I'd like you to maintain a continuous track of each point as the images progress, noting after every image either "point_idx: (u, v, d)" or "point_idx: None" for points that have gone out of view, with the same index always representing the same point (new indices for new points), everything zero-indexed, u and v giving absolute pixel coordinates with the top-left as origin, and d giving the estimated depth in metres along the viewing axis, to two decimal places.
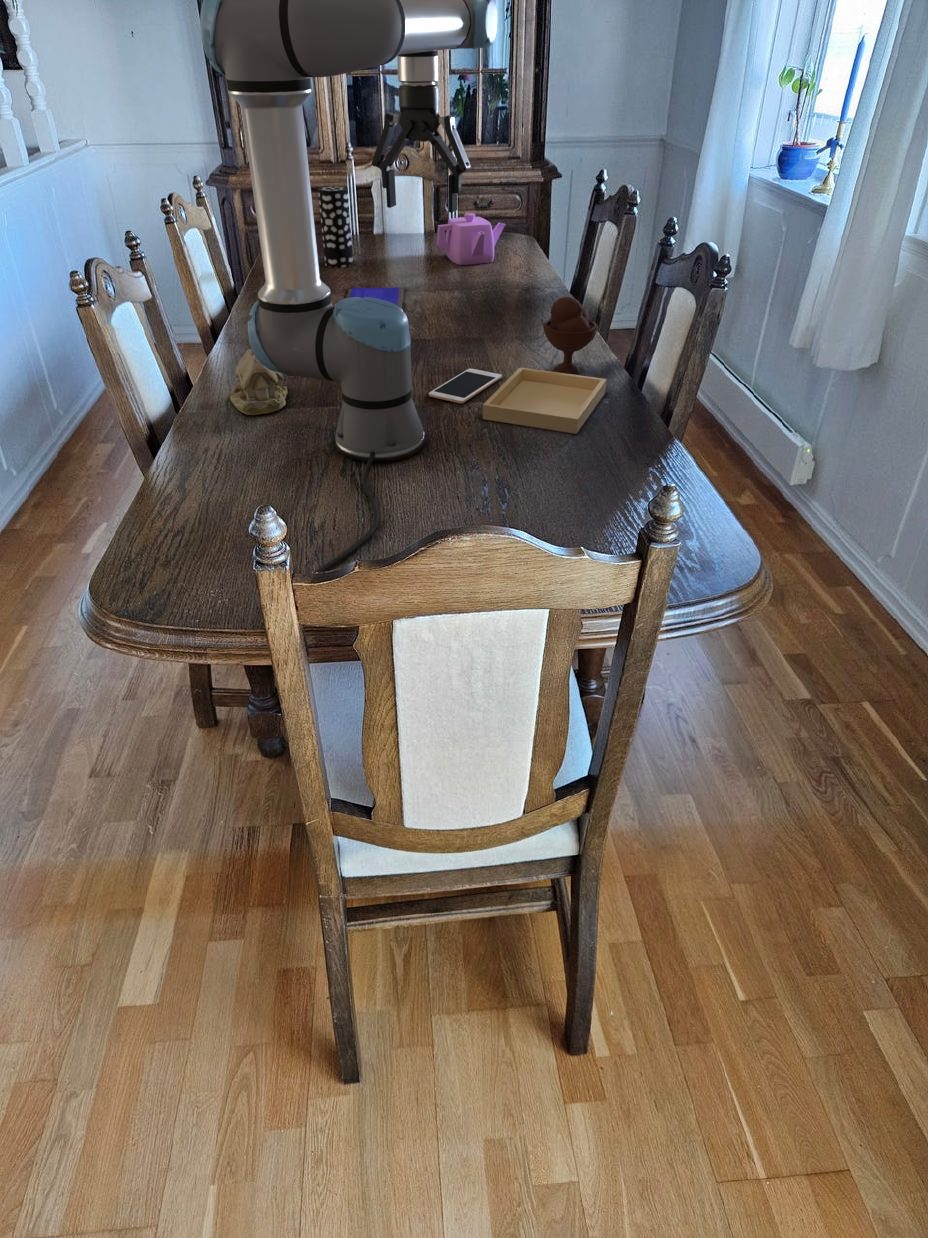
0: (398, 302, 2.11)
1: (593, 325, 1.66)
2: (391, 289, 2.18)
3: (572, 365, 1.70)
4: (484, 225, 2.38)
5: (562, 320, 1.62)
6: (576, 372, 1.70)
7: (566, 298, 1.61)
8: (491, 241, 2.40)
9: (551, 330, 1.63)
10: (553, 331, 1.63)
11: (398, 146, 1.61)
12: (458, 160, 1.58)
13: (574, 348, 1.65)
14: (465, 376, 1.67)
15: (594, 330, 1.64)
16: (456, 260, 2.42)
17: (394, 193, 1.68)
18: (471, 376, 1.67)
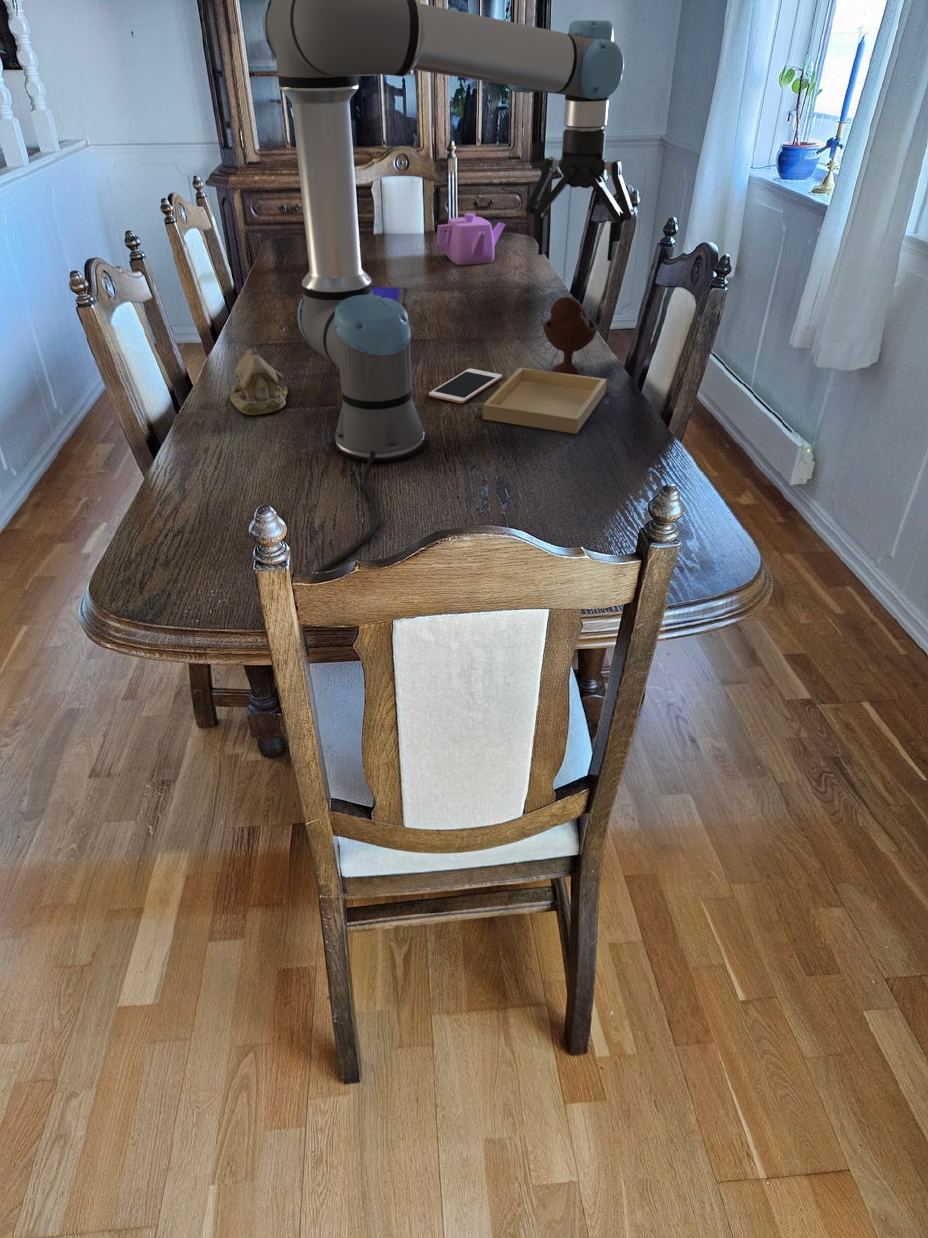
0: (398, 302, 2.11)
1: (593, 325, 1.66)
2: (391, 289, 2.18)
3: (572, 365, 1.70)
4: (484, 225, 2.38)
5: (562, 320, 1.62)
6: (576, 372, 1.70)
7: (566, 298, 1.61)
8: (491, 241, 2.40)
9: (551, 330, 1.63)
10: (553, 331, 1.63)
11: (557, 192, 1.52)
12: (623, 207, 1.49)
13: (574, 348, 1.65)
14: (465, 376, 1.67)
15: (594, 330, 1.64)
16: (456, 260, 2.42)
17: (545, 239, 1.59)
18: (471, 376, 1.67)
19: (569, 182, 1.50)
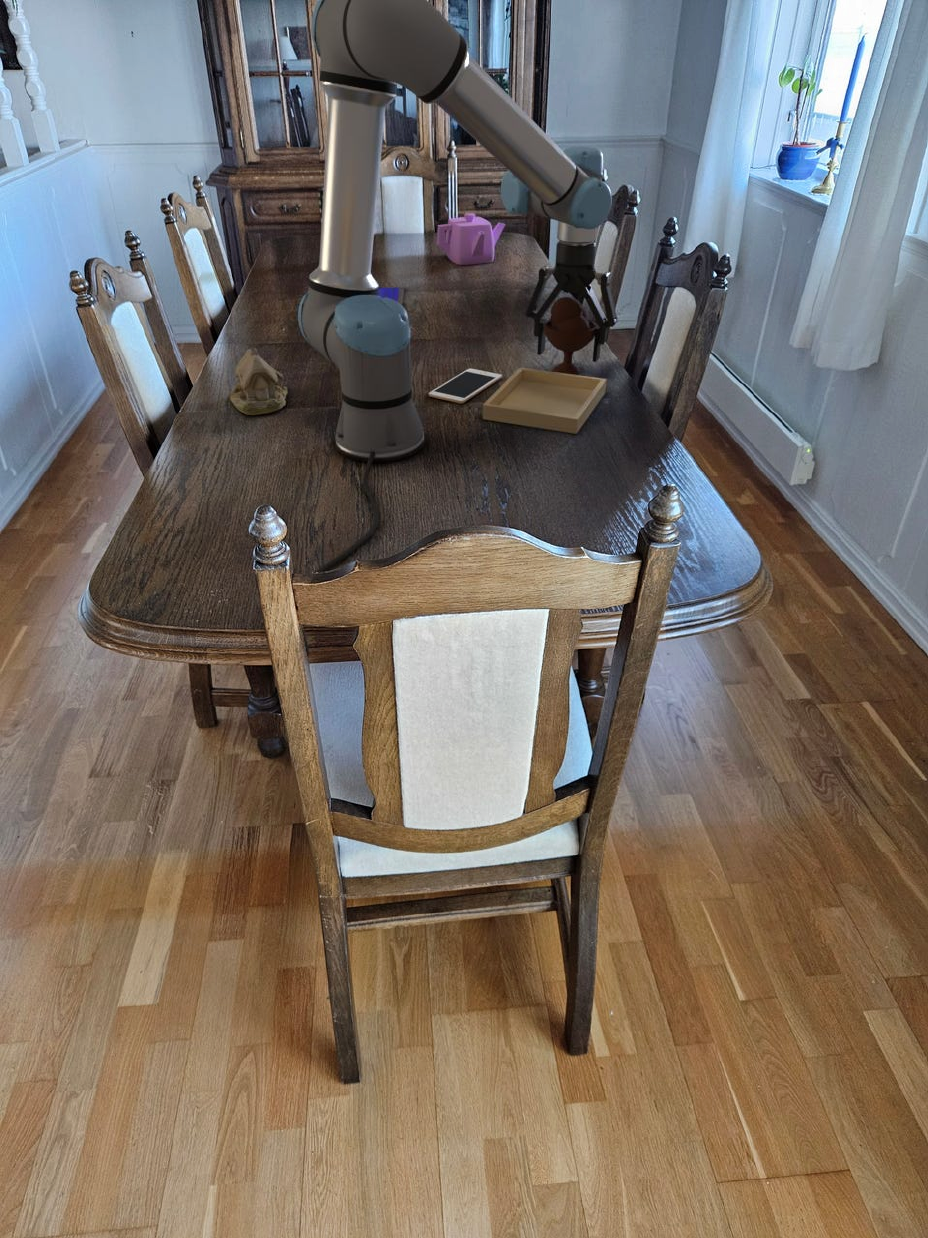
0: (398, 302, 2.11)
1: (593, 325, 1.66)
2: (391, 289, 2.18)
3: (572, 365, 1.70)
4: (484, 225, 2.38)
5: (562, 320, 1.62)
6: (576, 372, 1.70)
7: (566, 298, 1.61)
8: (491, 241, 2.40)
9: (551, 330, 1.63)
10: (553, 331, 1.63)
11: (553, 298, 1.63)
12: (608, 315, 1.61)
13: (574, 348, 1.65)
14: (465, 376, 1.67)
15: (594, 330, 1.64)
16: (456, 260, 2.42)
17: (544, 340, 1.71)
18: (471, 376, 1.67)
19: (563, 288, 1.61)
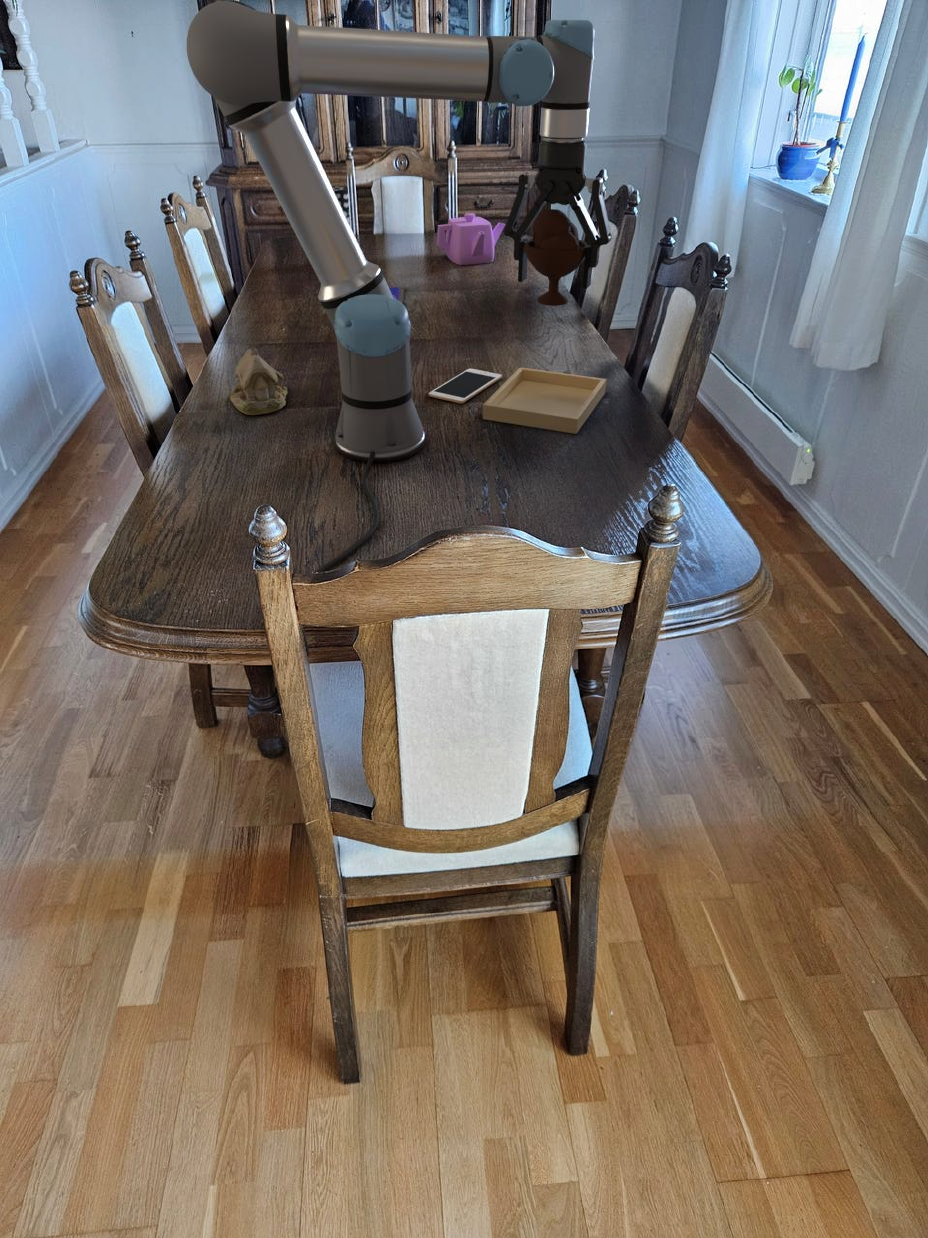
0: None
1: (583, 245, 1.41)
2: (391, 289, 2.18)
3: (559, 294, 1.45)
4: (484, 225, 2.38)
5: (547, 237, 1.37)
6: (563, 302, 1.44)
7: (551, 210, 1.36)
8: (491, 241, 2.40)
9: (534, 249, 1.38)
10: (536, 250, 1.38)
11: (535, 211, 1.38)
12: (600, 231, 1.36)
13: (561, 271, 1.40)
14: (465, 376, 1.67)
15: (584, 250, 1.39)
16: (456, 260, 2.42)
17: (526, 265, 1.45)
18: (471, 376, 1.67)
19: (548, 199, 1.36)
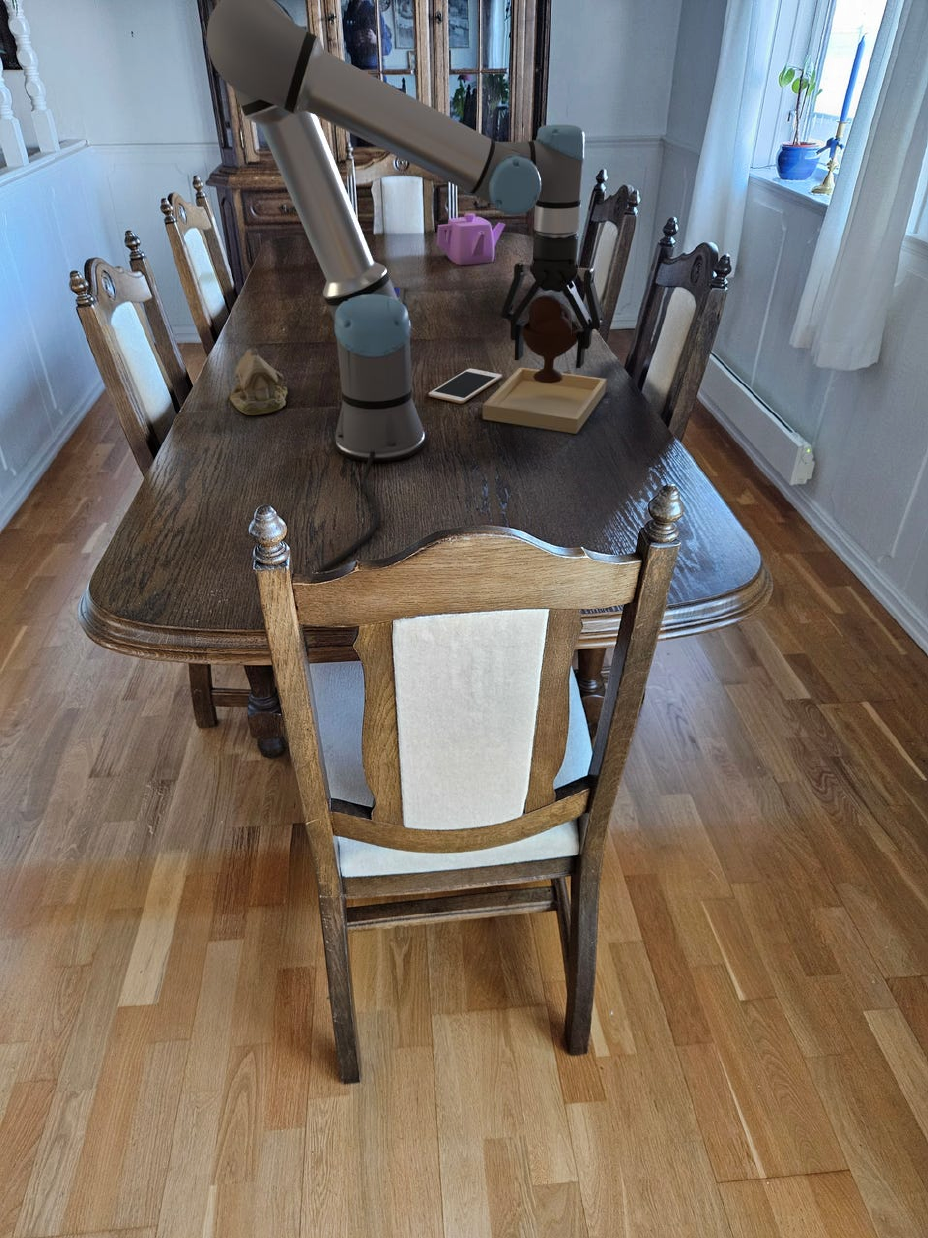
0: None
1: (576, 327, 1.48)
2: None
3: (553, 372, 1.52)
4: (484, 225, 2.38)
5: (541, 322, 1.44)
6: (558, 380, 1.51)
7: (545, 297, 1.43)
8: (491, 241, 2.40)
9: (529, 333, 1.45)
10: (531, 334, 1.45)
11: (530, 297, 1.45)
12: (592, 316, 1.43)
13: (555, 353, 1.47)
14: (465, 376, 1.67)
15: (577, 333, 1.46)
16: (456, 260, 2.42)
17: (522, 344, 1.52)
18: (471, 376, 1.67)
19: (542, 286, 1.43)
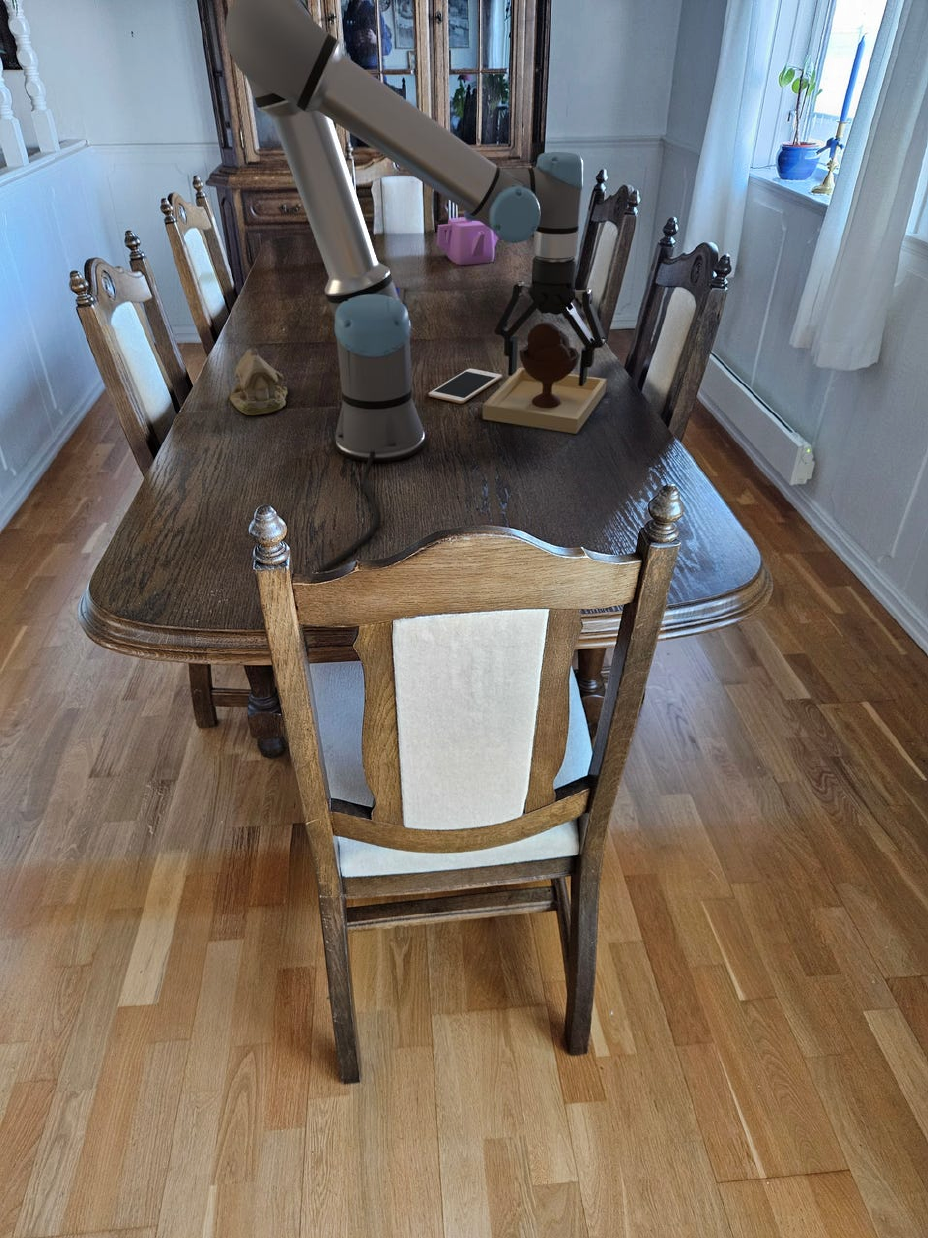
0: None
1: (574, 353, 1.51)
2: None
3: (552, 397, 1.55)
4: (484, 225, 2.38)
5: (540, 349, 1.47)
6: (556, 405, 1.54)
7: (544, 325, 1.46)
8: (491, 241, 2.40)
9: (528, 359, 1.48)
10: (530, 361, 1.48)
11: (526, 317, 1.47)
12: (594, 336, 1.44)
13: (553, 379, 1.50)
14: (465, 376, 1.67)
15: (575, 359, 1.49)
16: (456, 260, 2.42)
17: (516, 360, 1.54)
18: (471, 376, 1.67)
19: (539, 308, 1.45)
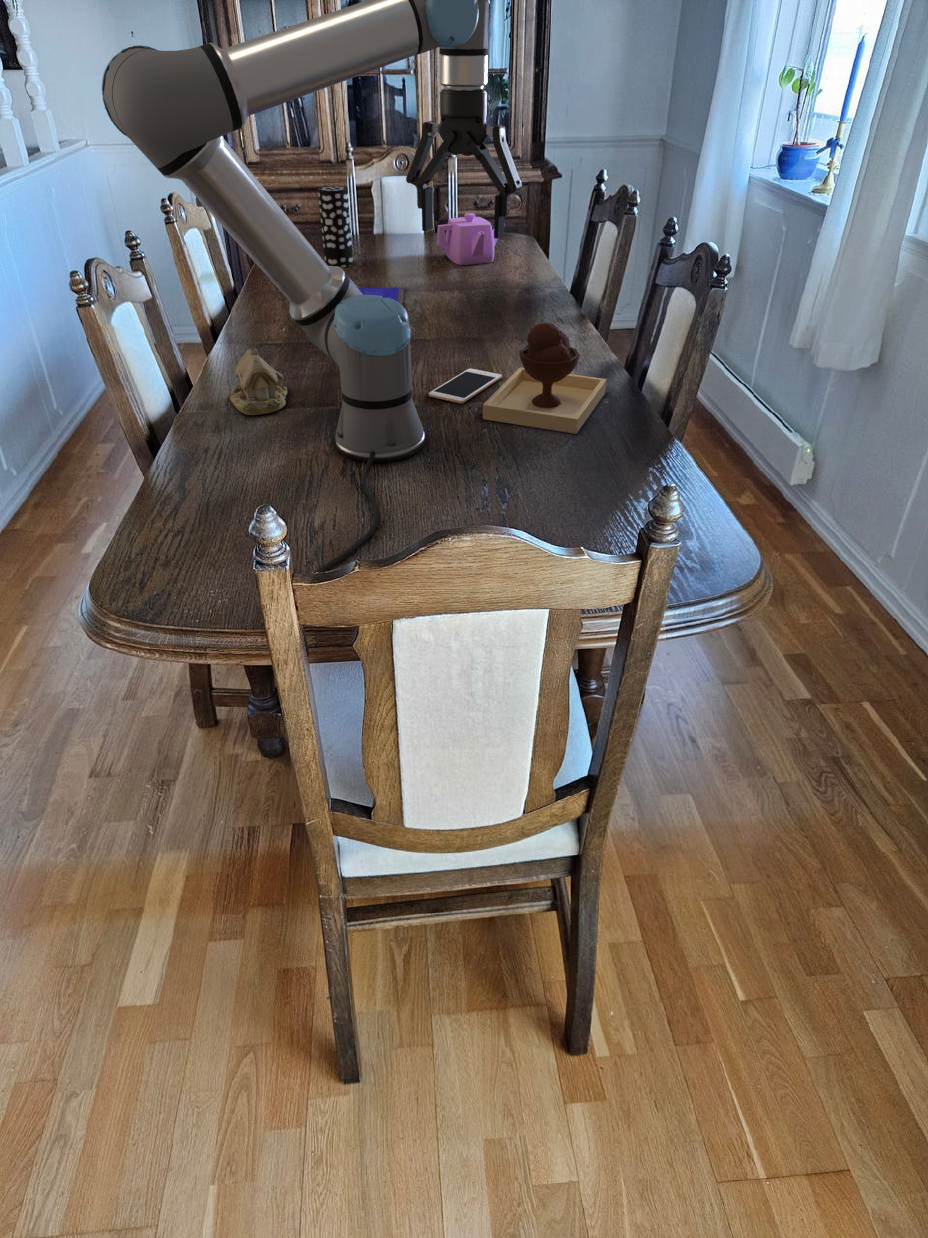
0: (398, 302, 2.11)
1: (574, 353, 1.51)
2: (391, 289, 2.18)
3: (552, 397, 1.55)
4: (484, 225, 2.38)
5: (540, 349, 1.47)
6: (556, 405, 1.54)
7: (544, 325, 1.46)
8: (491, 241, 2.40)
9: (528, 359, 1.48)
10: (530, 361, 1.48)
11: (437, 160, 1.37)
12: (507, 178, 1.34)
13: (553, 379, 1.50)
14: (465, 376, 1.67)
15: (575, 359, 1.49)
16: (456, 260, 2.42)
17: (431, 214, 1.44)
18: (471, 376, 1.67)
19: (449, 149, 1.35)
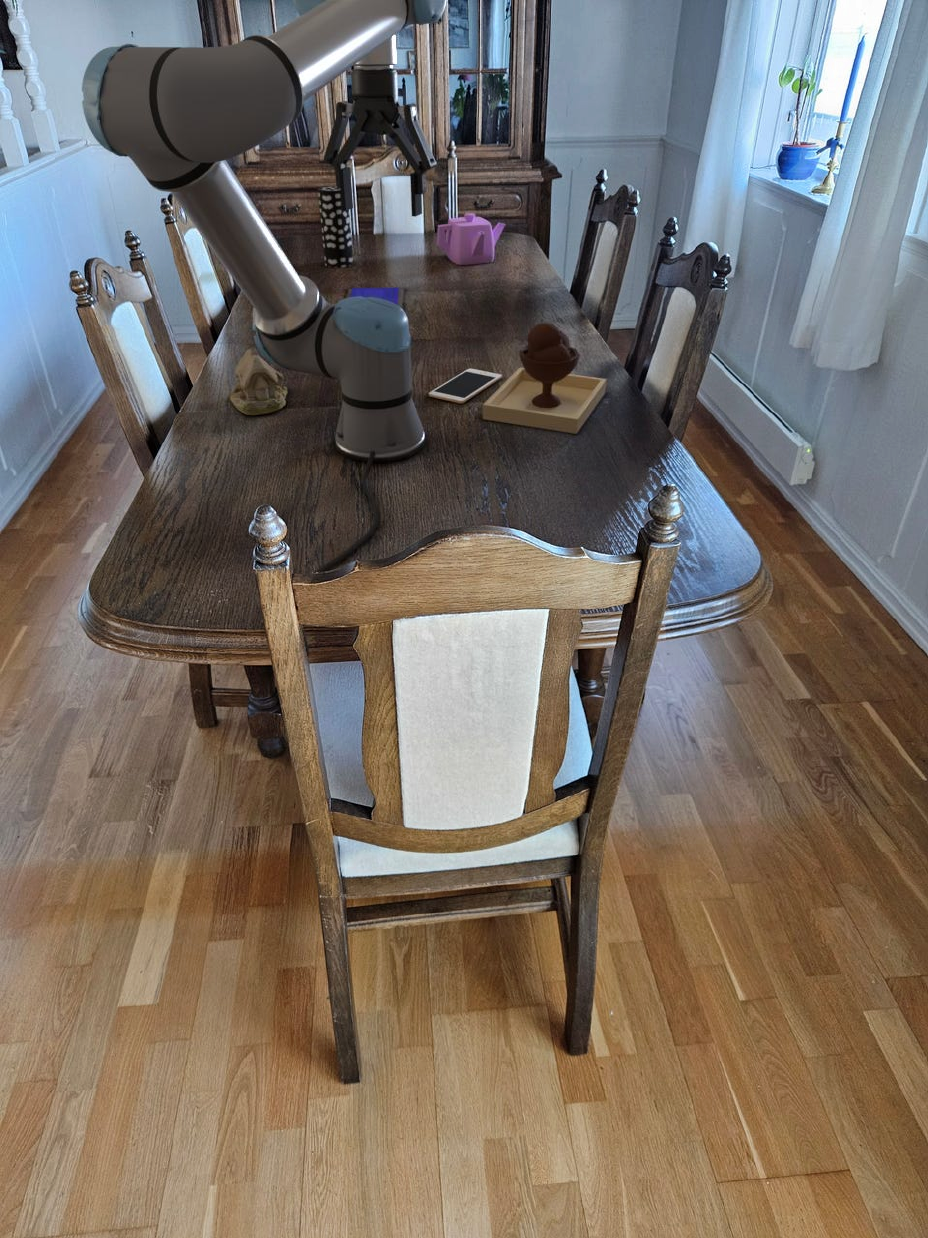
0: (398, 302, 2.11)
1: (574, 353, 1.51)
2: (391, 289, 2.18)
3: (552, 397, 1.55)
4: (484, 225, 2.38)
5: (540, 349, 1.47)
6: (556, 405, 1.54)
7: (544, 325, 1.46)
8: (491, 241, 2.40)
9: (528, 359, 1.48)
10: (530, 361, 1.48)
11: (353, 140, 1.39)
12: (421, 156, 1.37)
13: (553, 379, 1.50)
14: (465, 376, 1.67)
15: (575, 359, 1.49)
16: (456, 260, 2.42)
17: (350, 194, 1.47)
18: (471, 376, 1.67)
19: (364, 128, 1.38)
